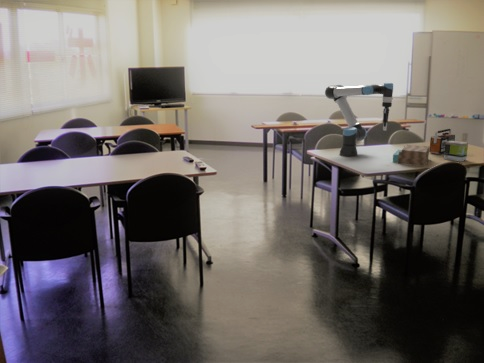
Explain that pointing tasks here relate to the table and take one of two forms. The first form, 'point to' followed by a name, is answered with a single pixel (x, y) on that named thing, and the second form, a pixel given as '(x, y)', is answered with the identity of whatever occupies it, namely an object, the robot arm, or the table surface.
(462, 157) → the tea box
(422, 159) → the wooden drawer cabinet
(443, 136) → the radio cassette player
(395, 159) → the drawer
